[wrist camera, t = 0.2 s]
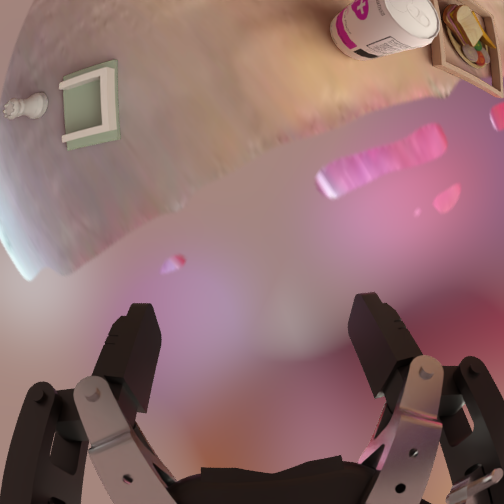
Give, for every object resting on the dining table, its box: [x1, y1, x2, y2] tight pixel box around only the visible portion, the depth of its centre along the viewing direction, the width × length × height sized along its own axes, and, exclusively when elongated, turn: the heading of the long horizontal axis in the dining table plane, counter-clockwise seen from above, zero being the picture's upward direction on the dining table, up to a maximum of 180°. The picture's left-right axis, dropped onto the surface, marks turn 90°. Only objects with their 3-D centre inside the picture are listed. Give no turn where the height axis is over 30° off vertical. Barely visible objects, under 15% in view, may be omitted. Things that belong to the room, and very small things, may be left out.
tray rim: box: [429, 0, 503, 98], centre depth 22 cm, size 20×19×2 cm
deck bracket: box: [59, 60, 121, 151], centre depth 27 cm, size 12×9×4 cm
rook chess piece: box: [3, 92, 48, 120], centre depth 24 cm, size 4×4×8 cm
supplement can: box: [330, 0, 440, 61], centre depth 20 cm, size 8×8×15 cm
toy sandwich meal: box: [443, 4, 496, 69], centre depth 21 cm, size 12×14×5 cm
